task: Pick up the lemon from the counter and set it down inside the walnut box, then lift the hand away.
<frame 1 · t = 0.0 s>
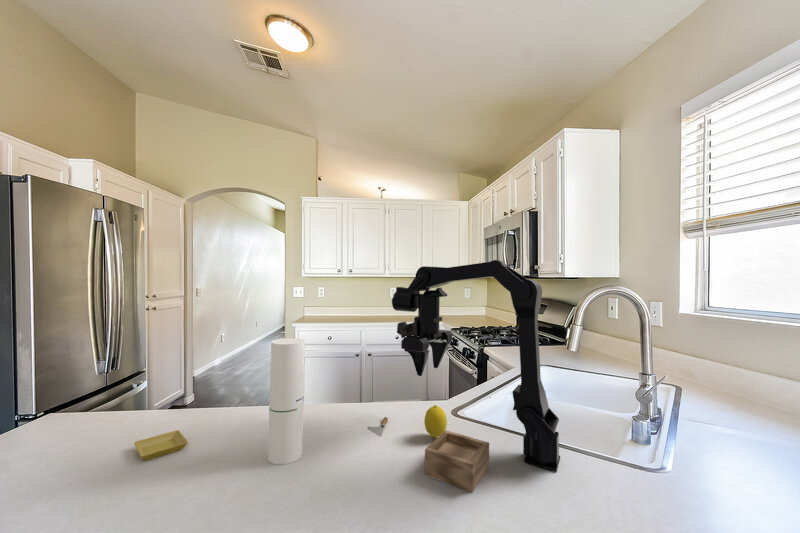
hand: (428, 371, 87), 15 cm above the worktop, tool pointing down, fingers open, 9 cm apart
yellow tray: (160, 452, 73), on the worktop
cylindrical container: (285, 456, 72), on the worktop
lemon: (435, 438, 81), on the worktop
walnut box: (457, 470, 67), on the worktop
putty knife: (374, 432, 85), on the worktop
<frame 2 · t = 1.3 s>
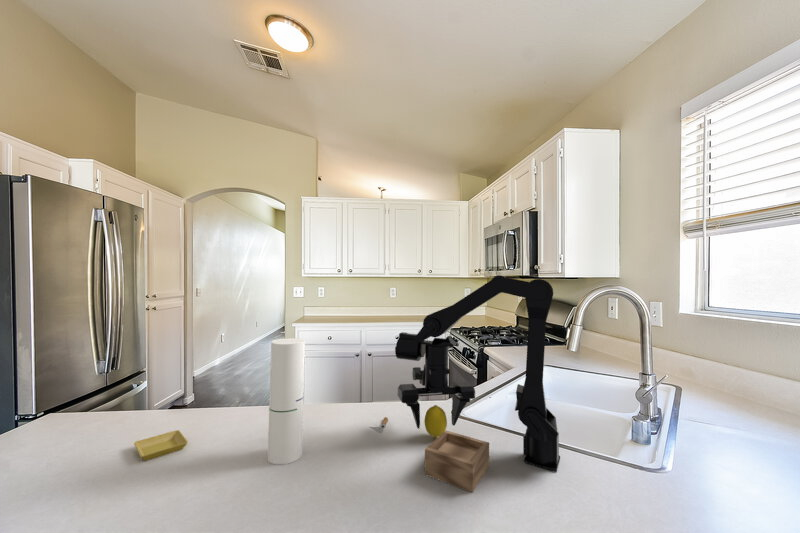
hand: (435, 426, 81), 3 cm above the worktop, tool pointing down, fingers open, 9 cm apart
nothing on the worktop moved.
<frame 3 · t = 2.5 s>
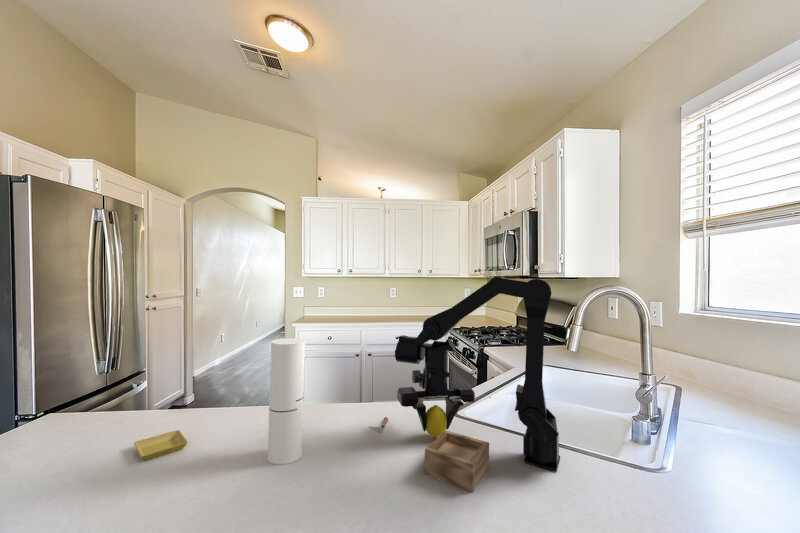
hand: (435, 429, 81), 2 cm above the worktop, tool pointing down, fingers closed on lemon, 5 cm apart
lemon: (435, 438, 81), on the worktop, touching gripper
everything else where it was.
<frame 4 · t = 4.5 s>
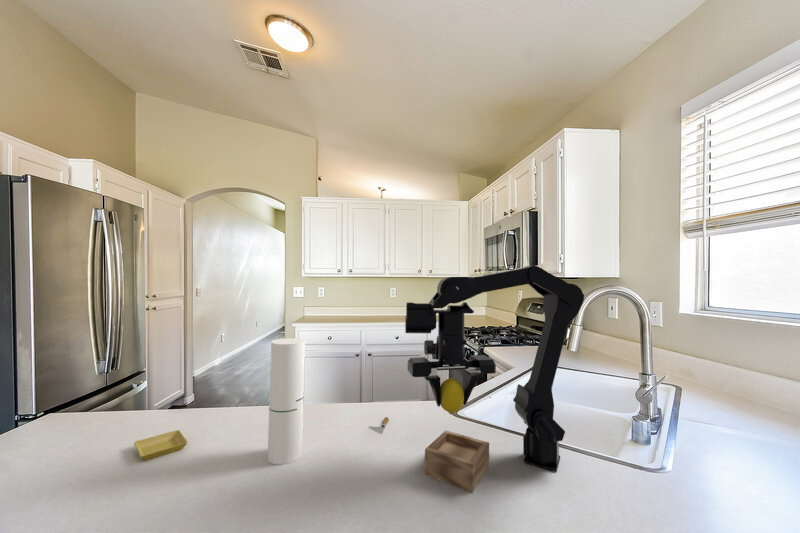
hand: (451, 405, 71), 12 cm above the worktop, tool pointing down, fingers closed on lemon, 5 cm apart
lemon: (451, 415, 71), point 10 cm above the worktop, touching gripper
everything else where it was.
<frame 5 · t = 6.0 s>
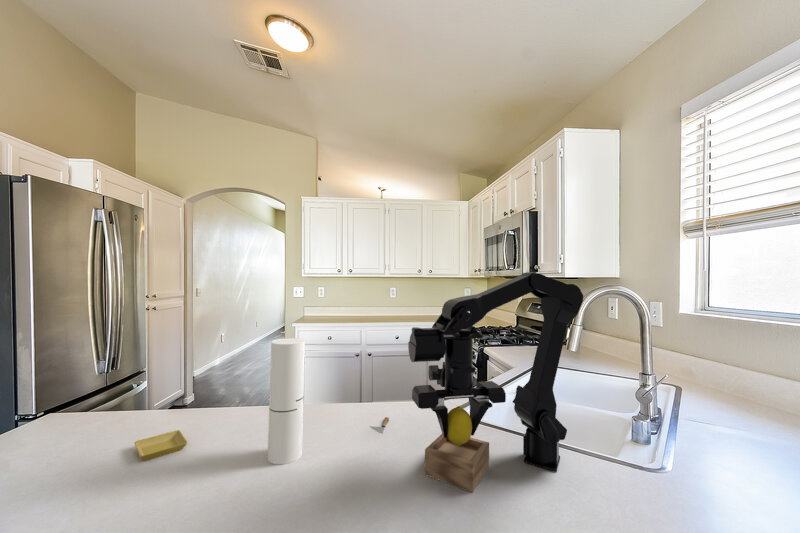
hand: (458, 435, 67), 7 cm above the worktop, tool pointing down, fingers closed on lemon, 5 cm apart
lemon: (458, 446, 67), point 5 cm above the worktop, touching gripper
everything else where it was.
when the fingers open (7 cm above the worktop, at t = 6.8 s): lemon drops 1 cm, resting on walnut box.
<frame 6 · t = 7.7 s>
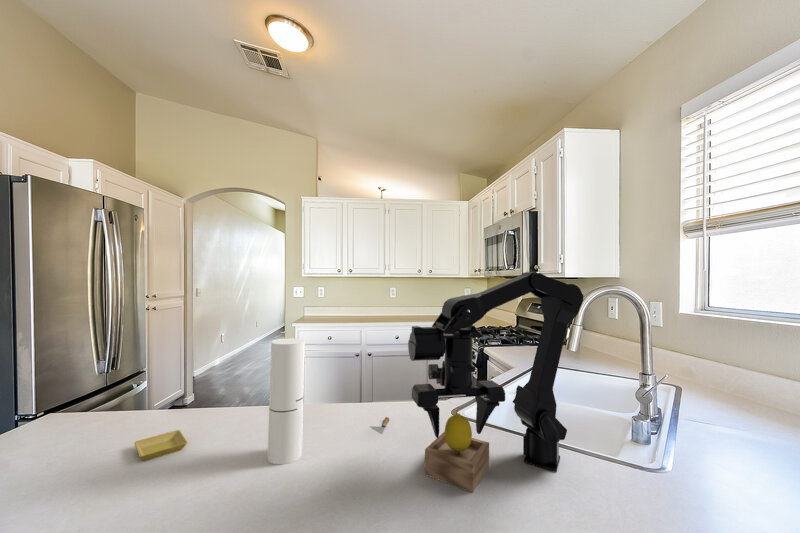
hand: (457, 434, 67), 7 cm above the worktop, tool pointing down, fingers open, 9 cm apart
lemon: (458, 454, 67), point 3 cm above the worktop, touching walnut box
everything else where it was.
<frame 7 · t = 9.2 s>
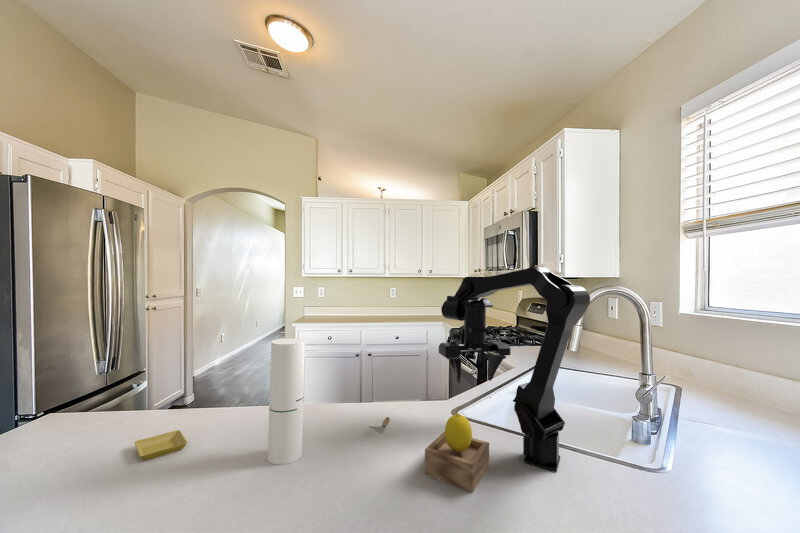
hand: (474, 381, 87), 12 cm above the worktop, tool pointing down, fingers open, 9 cm apart
nothing on the worktop moved.
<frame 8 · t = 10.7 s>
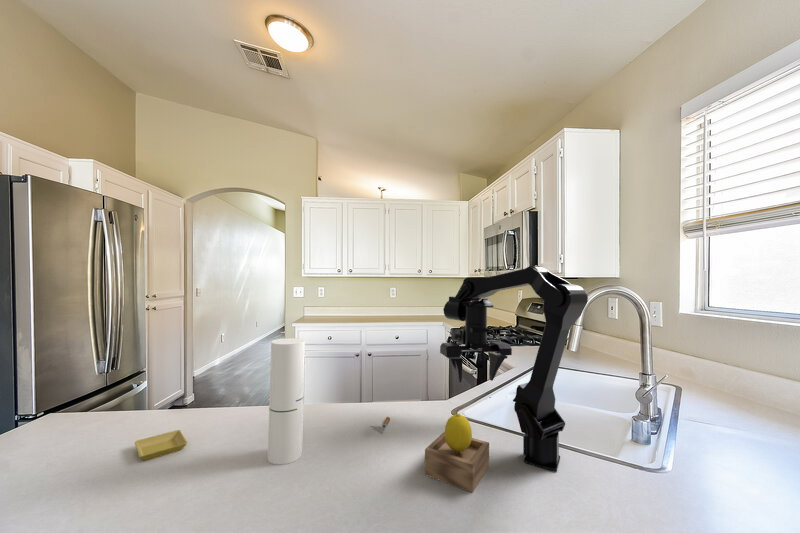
hand: (475, 381, 88), 12 cm above the worktop, tool pointing down, fingers open, 9 cm apart
nothing on the worktop moved.
at the end: lemon 0.1 cm off-centre on the walnut box, point 3.3 cm above the walnut box's base; lemon touching walnut box; the gripper is holding nothing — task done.
